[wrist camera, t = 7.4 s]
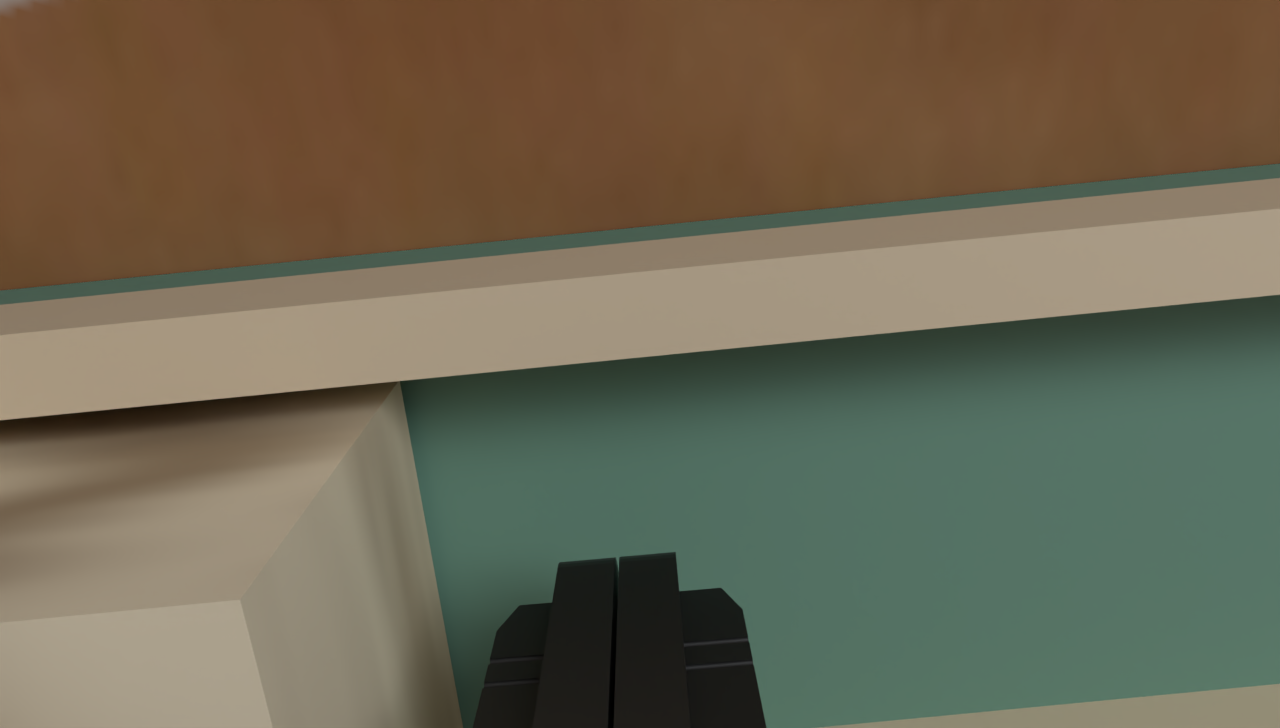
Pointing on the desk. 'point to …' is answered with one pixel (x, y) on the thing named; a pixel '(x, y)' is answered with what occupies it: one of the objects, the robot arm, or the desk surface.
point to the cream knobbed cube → (220, 567)
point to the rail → (808, 432)
